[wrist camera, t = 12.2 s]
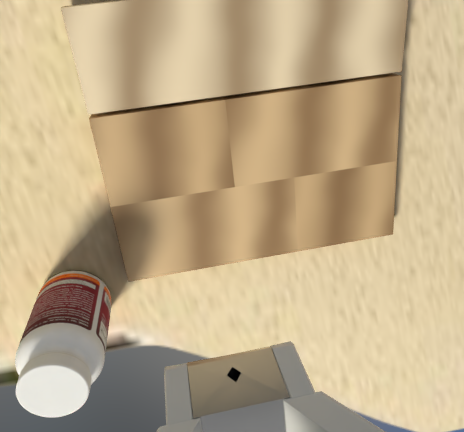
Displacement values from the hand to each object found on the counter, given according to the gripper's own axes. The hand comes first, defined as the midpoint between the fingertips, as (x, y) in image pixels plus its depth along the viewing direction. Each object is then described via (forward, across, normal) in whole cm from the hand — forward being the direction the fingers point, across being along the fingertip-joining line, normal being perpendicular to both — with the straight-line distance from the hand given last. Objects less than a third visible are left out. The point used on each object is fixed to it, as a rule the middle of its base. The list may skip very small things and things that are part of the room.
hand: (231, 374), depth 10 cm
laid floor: (+27, +6, -5) cm, 28 cm away
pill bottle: (+27, -11, -14) cm, 33 cm away
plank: (+27, +6, +6) cm, 28 cm away
